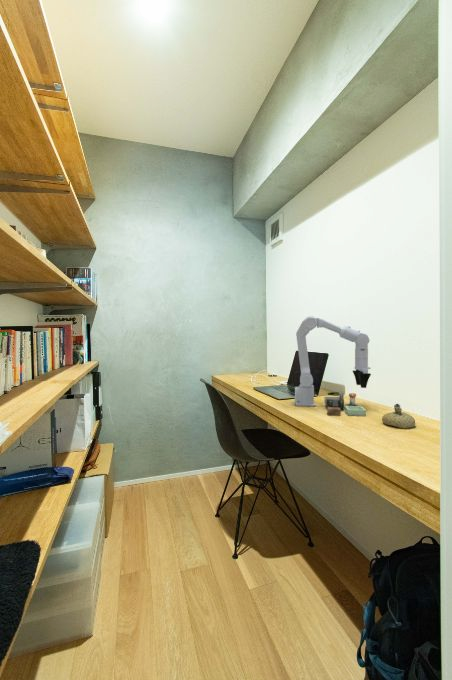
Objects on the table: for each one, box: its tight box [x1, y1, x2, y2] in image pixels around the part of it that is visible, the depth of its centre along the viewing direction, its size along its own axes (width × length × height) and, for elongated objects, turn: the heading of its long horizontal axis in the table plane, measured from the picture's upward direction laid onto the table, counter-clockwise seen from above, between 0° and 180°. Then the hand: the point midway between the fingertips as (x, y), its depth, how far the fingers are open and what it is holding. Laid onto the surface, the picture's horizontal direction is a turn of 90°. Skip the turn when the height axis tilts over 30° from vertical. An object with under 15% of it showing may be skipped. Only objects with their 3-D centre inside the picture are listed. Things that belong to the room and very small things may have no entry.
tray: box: [344, 405, 367, 417], centre depth 137 cm, size 7×7×2 cm
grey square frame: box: [344, 403, 360, 407], centre depth 145 cm, size 6×6×2 cm
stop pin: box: [348, 393, 357, 406], centre depth 145 cm, size 3×3×7 cm
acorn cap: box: [381, 403, 416, 429], centre depth 120 cm, size 10×11×10 cm
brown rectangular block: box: [326, 406, 342, 417], centre depth 136 cm, size 5×4×3 cm
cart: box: [323, 391, 345, 411], centre depth 147 cm, size 8×10×7 cm
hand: (361, 386), depth 149 cm, fingers open, 7 cm apart
